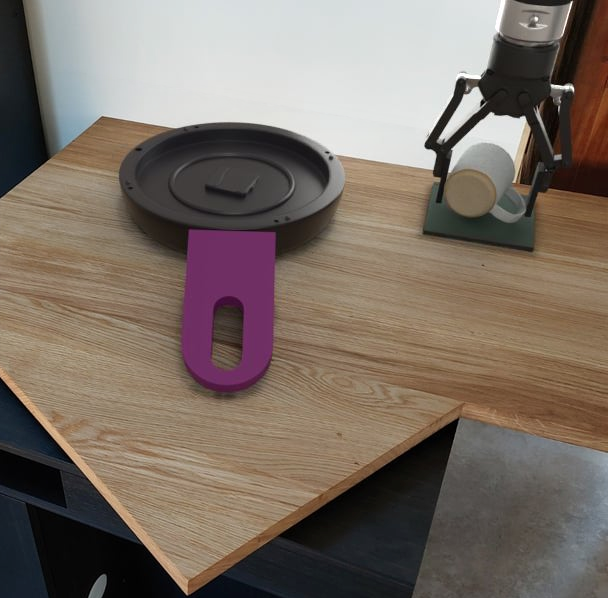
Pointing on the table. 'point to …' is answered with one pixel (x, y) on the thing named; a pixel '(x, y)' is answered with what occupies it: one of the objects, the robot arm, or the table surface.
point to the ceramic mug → (483, 184)
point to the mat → (480, 225)
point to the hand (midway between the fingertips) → (482, 205)
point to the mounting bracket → (229, 303)
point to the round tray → (231, 183)
